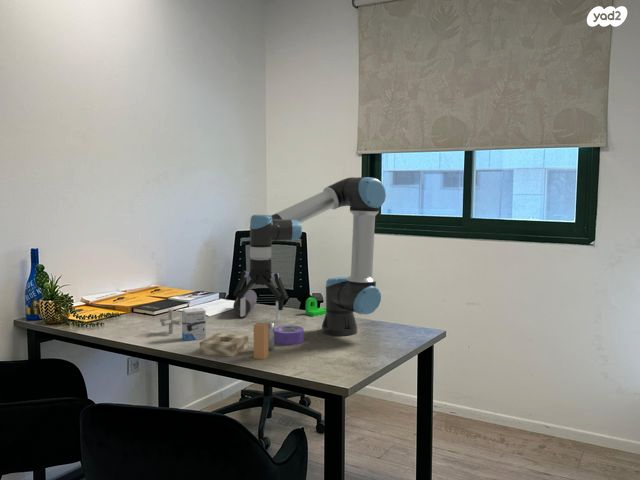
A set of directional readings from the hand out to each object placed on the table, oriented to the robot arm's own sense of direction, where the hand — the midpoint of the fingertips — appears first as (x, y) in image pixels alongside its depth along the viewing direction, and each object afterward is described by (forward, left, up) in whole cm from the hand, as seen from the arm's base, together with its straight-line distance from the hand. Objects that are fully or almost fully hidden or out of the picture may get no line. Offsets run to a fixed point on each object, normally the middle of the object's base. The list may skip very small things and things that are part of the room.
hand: (260, 317), depth 206 cm
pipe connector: (+48, -18, -15) cm, 53 cm away
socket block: (+16, -4, -14) cm, 22 cm away
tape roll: (-2, -23, -15) cm, 28 cm away
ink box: (+35, -14, -15) cm, 40 cm away
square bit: (0, 0, -14) cm, 14 cm away
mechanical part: (+1, -73, -15) cm, 74 cm away
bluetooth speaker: (+35, -63, -15) cm, 74 cm away
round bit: (+1, -10, -14) cm, 17 cm away
